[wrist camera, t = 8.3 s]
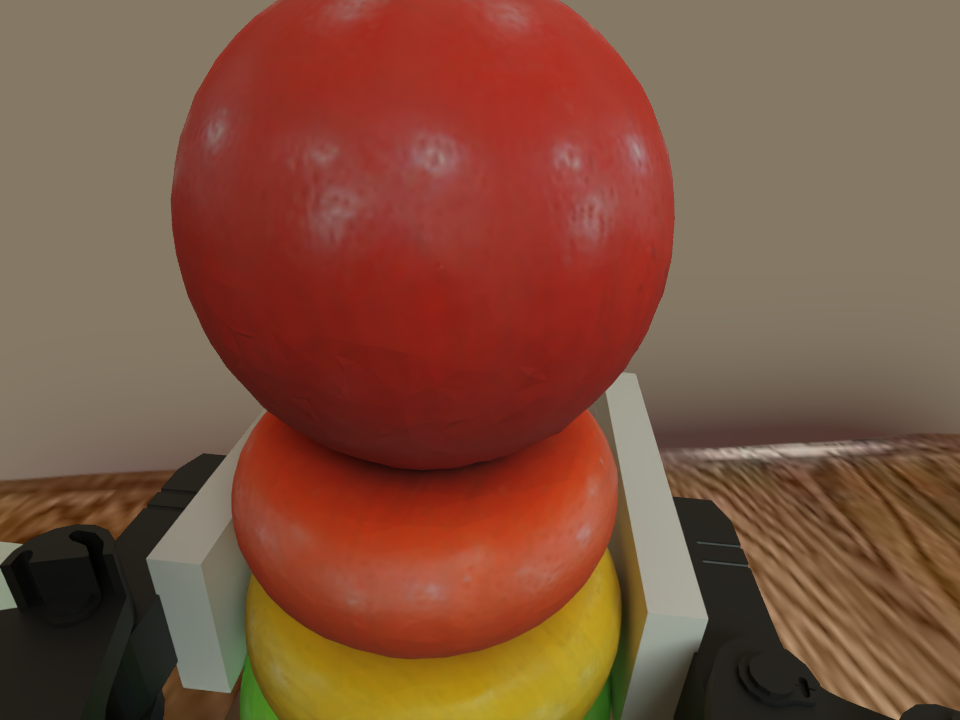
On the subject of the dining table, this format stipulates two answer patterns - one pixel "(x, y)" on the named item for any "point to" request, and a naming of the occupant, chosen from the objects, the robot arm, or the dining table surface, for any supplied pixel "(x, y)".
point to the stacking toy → (425, 346)
